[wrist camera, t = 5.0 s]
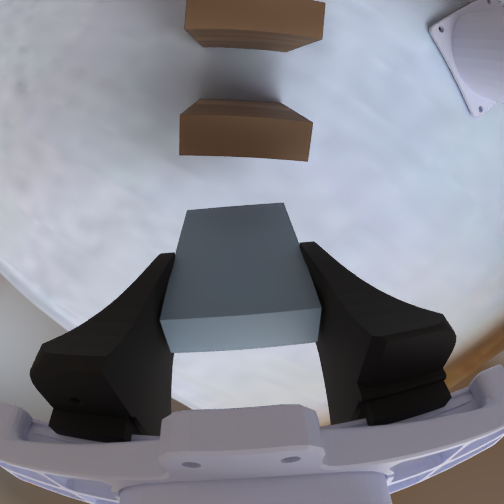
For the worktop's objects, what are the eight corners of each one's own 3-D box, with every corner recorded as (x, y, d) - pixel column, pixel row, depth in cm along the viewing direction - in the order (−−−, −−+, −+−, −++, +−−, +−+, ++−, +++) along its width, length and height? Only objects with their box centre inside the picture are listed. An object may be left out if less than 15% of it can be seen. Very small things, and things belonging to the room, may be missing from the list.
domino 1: (286, 52, 16) (322, 39, 9) (203, 47, 16) (184, 28, 9) (288, 29, 15) (325, 2, 8) (205, 23, 15) (187, -9, 8)
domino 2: (279, 127, 19) (307, 161, 12) (199, 123, 18) (179, 155, 11) (281, 103, 18) (312, 122, 11) (200, 99, 17) (179, 114, 11)
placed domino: (283, 229, 17) (317, 341, 10) (191, 237, 17) (170, 352, 10) (283, 202, 16) (321, 307, 9) (187, 210, 16) (159, 320, 9)
